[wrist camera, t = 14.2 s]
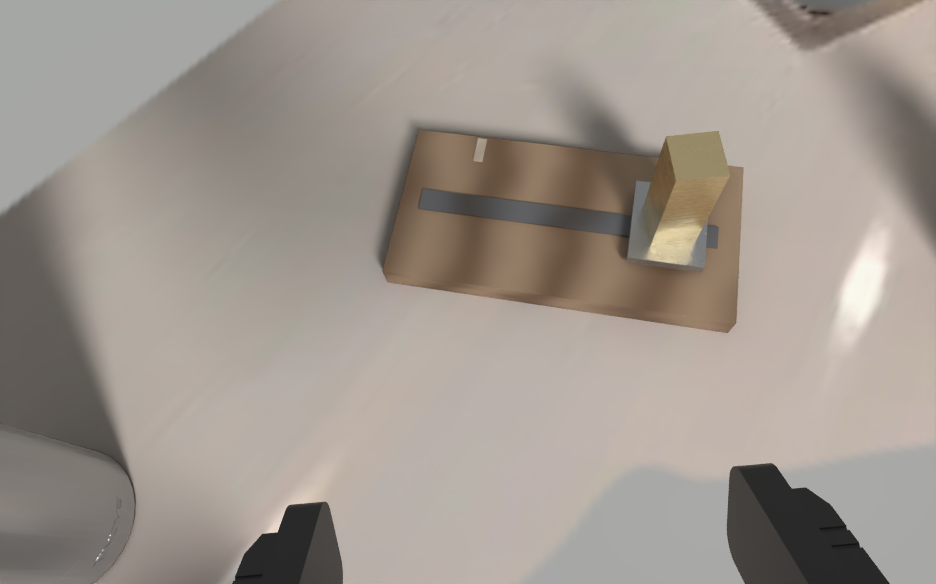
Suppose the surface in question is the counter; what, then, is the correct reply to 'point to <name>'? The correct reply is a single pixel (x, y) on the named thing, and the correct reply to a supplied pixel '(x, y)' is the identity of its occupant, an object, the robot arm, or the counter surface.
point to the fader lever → (678, 203)
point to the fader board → (552, 232)
